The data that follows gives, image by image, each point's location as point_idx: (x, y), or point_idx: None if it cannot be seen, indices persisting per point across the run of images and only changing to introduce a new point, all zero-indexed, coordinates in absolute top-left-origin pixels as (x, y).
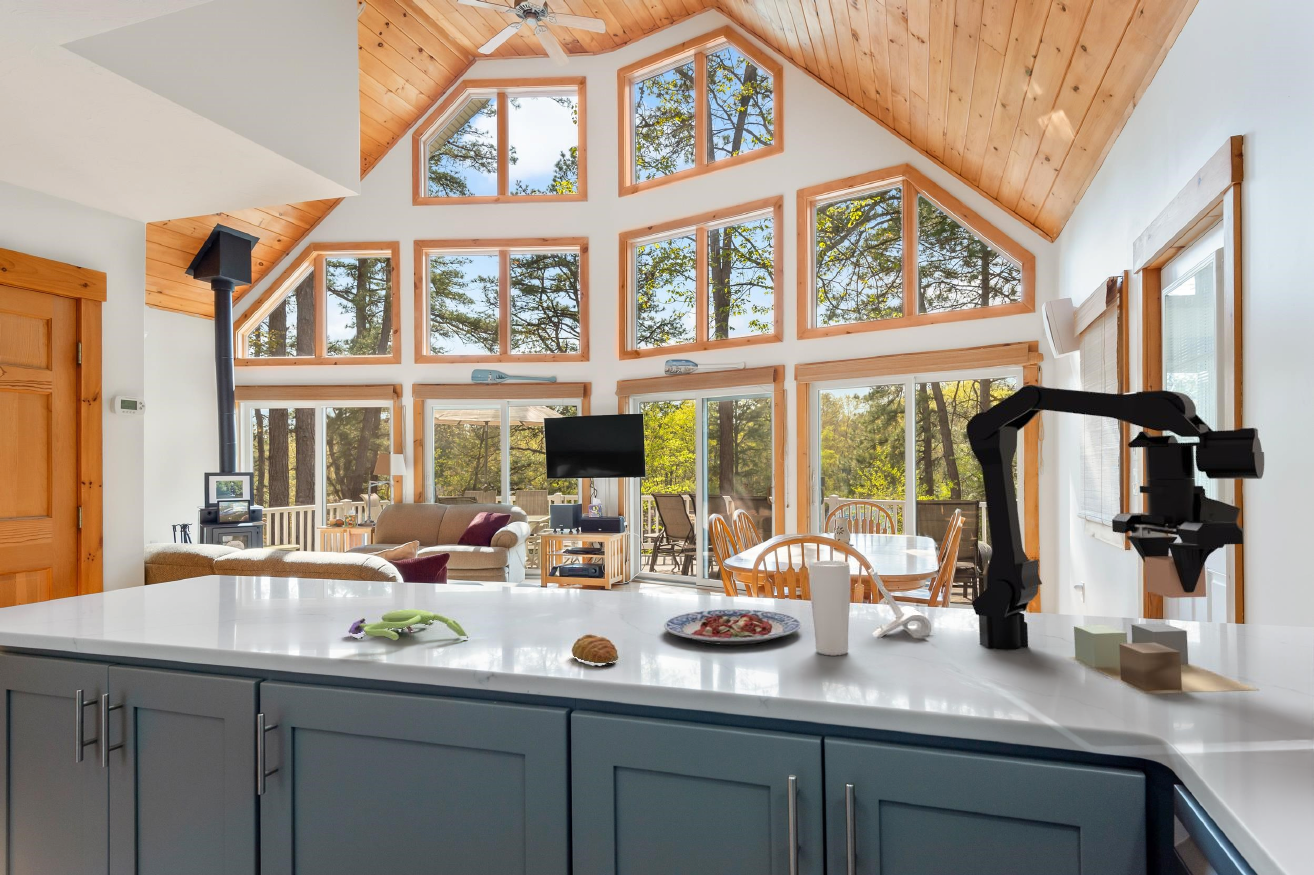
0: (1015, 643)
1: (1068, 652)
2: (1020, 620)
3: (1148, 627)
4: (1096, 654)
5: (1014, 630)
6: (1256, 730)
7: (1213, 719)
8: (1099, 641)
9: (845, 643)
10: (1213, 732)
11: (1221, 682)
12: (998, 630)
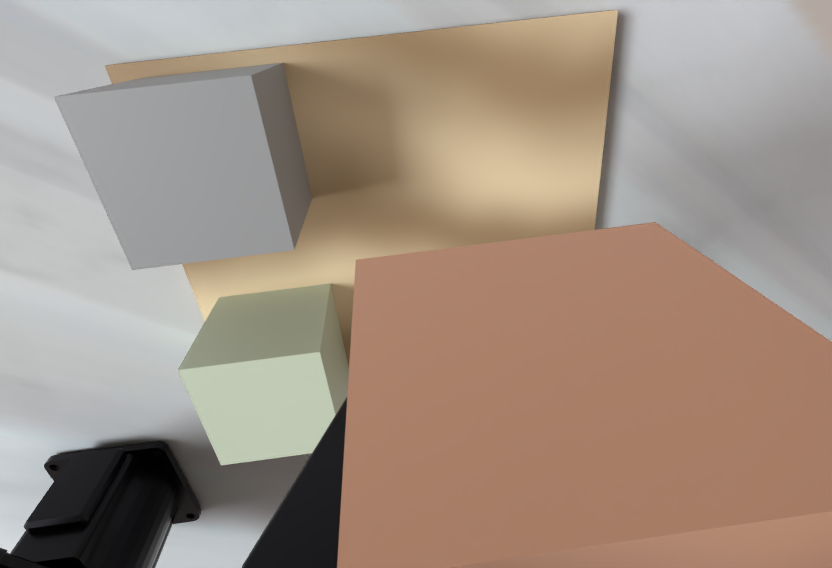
0: (160, 495)
1: (98, 345)
2: (97, 544)
3: (196, 228)
4: (345, 390)
5: (143, 533)
6: (817, 222)
7: (729, 269)
8: None
9: None
10: (787, 311)
11: (523, 90)
12: (154, 561)
